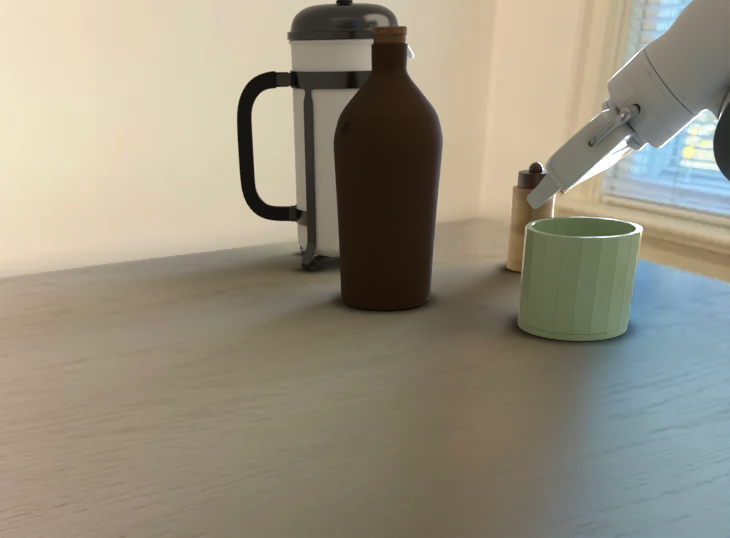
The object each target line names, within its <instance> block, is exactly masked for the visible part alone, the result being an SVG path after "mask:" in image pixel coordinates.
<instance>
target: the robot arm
mask: <svg viewBox="0 0 730 538" xmlns="http://www.w3.org/2000/svg"><path fill="white" fill-rule="evenodd" d="M606 88H607V92H608V94H609V97H607V99H605V100H604V101H603V102H602V103H601V112H600V113H598V114H597V115H595V116H594V117H593V118H592V119H590V120H589V121H588V122H587V123H586V124H585V125H584V126H583V127H581V128H580V129H579V130H578V131H577V132H576V133H575V134H574V135H572V136H571V137H570V138H569V139H568V140H567V141H566V142H564V144H562V146H560V147H559V148H558V149H557V150H556V151H555V152H554V153H553V154H552V155H550V157H549V158H548V159H547V161H546V162H545V164H544V168H545V170H547V171H548V172H549V173H548V174H547V175H546V176H545V177H544V178H543V179H542V181H541V182H540V183H539V184H538V186H537V187H536V188H535V189H534V190H533V191H532V192H531V193H530V194H528V195H527V198H526V199H527V202H528V203H529V204H530V206H531V207H532V208H533V209H538V208H539V207H541V206H542V205H543V204H544V203H545V202H547V201H548V200H549V199H550V198H551V197H552V196H553V195H554V194H555V197H561V196H563V195H565V194H566V193H567V192H568V191H569V190H571V189H572V188H573V187H575V186H576V185H579V184H581V183H582V182H584V181H585V180H588V179H590V178H591V177H593V176H595V175H597V174H599V173H601V172H602V171H605V170H607V169H608V168H610V167H612V166H613V165H615V164H616V163H618V162H620V161H621V160H622V159H623V158H625V157H627V156H628V155H630V154H631V153H632V152H633V151H635V152H640V151H641V150H642V149H643V148H645V146H647V145H649V146H650V147H652V148H654V149H661V148H663V147H664V146H665V145H666V144H667V143H668V142H669V141H670V140H672V139H673V138H674V137H675V136H677V135H678V134H679V133H680V132H681V131H682V130H684V129H685V127H686V128H687V126H688V125H689V124H691V123H692V122H693V121H694V120H695V119H696V118H698V117H699V116H700V115H701V114H702V113H703V112H706V111H709V112H711V113H712V115H713V116H714V117H715V118H716V119H717V124H716V126H715V130H714V134H713V140H712V153H713V157H714V161H715V163H716V166H717V168H718V169H719V171H720V173H721V174H722V176H723V177H724V178H725V179H727V181H728V182H730V0H691V1H690V2H689V3H688V4H687V5H685V7H684V8H683V9H682V10H681V11H680V13H679V14H678V16H677V17H676V19H675V20H674V22H673V23H672V24H671V26H670V27H668V28H667V30H665V32H663V33H661V35H660V36H659V35H658V37H656V38H654V39H653V40H650V41H649V42H647V43H646V44H645V45H644V46H643V47H642V48H641V49H640V50H639V51H638V52H637V53H636V54H635V55H634V56H633V57H632V58H631V59H630V60H628V62H626V63H625V64H624V65H623V67H621V68H620V69H619V70H618V71H617V72H616V73H615V74H614V75H612V77H611V78H610V79H609V80H608V81H607V82H606Z"/></svg>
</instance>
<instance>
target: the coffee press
mask: <svg viewBox="0 0 730 538" xmlns="http://www.w3.org/2000/svg"><path fill="white" fill-rule="evenodd" d="M384 26H399V22H398V18H397V16H396V15H395V13H394V12H393V11H392V10H391V9H389V8H388V7H386V6H384V5H381V4H377V3H376V4H375V3H367V2H366V3H365V2H354V1H353V0H335V3H323V4H314V5H310V6H307V7H305V8H303V9H301V10H300V11H299V12H297V13H296V14H295V15H294V17H293V19H292V22H291V26H290V31H287V32H286V40H287V41H288V44H289V45H290V52H291V53H290V54H291V70H289V72H288V71H276V70H271V71H266V72H263V73H259V74H257V75H255V76H253V78H251V79H250V80H249V81H248V82H247V83H246V85H244V88H243V90H242V91H241V93H240V96H239V100H238V102H237V108H236V109H237V110H236V133H237V151H238V152H237V153H238V168H239V178H240V188H241V192H242V196H243V198H244V201H245V203H246V205H247V206H248V208H249V209H250V210H251V211H252V212H253V214H255V215H256V216H258V217H260V218H261V219H265V220H267V221H268V220H269V221H274V222H292V223H293V222H294V223H296V225H297V227H296V228H297V240H298V241H297V242H298V244H299V249H300V252H301V254H303V255H302V258H301V261H300V266H301V269H303V270H306V271H312V272H315V271H316V270H317V269H318V267H319V266H320V263H321V262H322V260H324V259H327V258H330V257H331V258H332V257H333V258H340V252H339V232H338V214H337V196H336V179H335V164H334V144H333V143H334V134H335V130H336V126H337V122H338V119H339V116H340V114H341V112H342V111H343V109H344V108H345V106H346V105H347V104H348V103H349V101H350V100H351V99H352V98H353V96H354V95H355V94H356V93H357V91H358V90H359V89H360V88H361V86H362V85H363V84H364V82H365V81H366V80H367V78H368V77H369V75H370V73H371V70H372V63H371V44H373V27H384ZM414 58H415V53H414V52H413V50H412V49H411V46H410V45H409V44H408V52H407V60H409V59H411V60H413V59H414ZM288 87H290V88H291V89H292V110H293V115H292V116H293V140H294V141H293V142H294V143H293V144H294V169H295V170H294V171H295V195H296V196H295V197H296V199H295V200H296V201H295V202H296V204H295V205H272V204H268V203H266V202H265V201H264V200H263V199H262V198H261V196H260V194H259V193H258V189H257V185H256V173H255V158H254V157H255V156H254V138H253V119H252V118H253V107H254V105H255V102H256V100H257V98H258V97H259V95H260V94H261V93H263V92H265V91H267V90H272V89H276V88H288ZM314 255H315V256H314ZM313 256H314V257H313Z"/></svg>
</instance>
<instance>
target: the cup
mask: <svg viewBox="0 0 730 538" xmlns="http://www.w3.org/2000/svg"><path fill="white" fill-rule="evenodd" d="M643 230H644V229H643V227H642V226H641V225H639V224H637V223H634V222H631V221H627V220H622V219H616V218H608V217H599V216H598V217H597V216H596V217H595V216H557V217H553V218H546V219H539V220H535V221H532V222H529V223H528V224H527V225H526V226H525V237H524V248H523V260H522V271H521V272H520V282H519V283H520V284H519V294H518V307H517V326H518V328H519V329H521V331H524V332H525V333H528V334H530V335H533V336H536V337H541V338H545V339H550V340H557V341H570V342H594V341H603V340H604V341H605V340H609V339H614V338H618V337H620V336H622V335H623V334H625V333H626V332H627V330H628V324H629V322H630V316H631V308H632V307H631V306H632V304H633V303H632V302H633V295H634V290H635V289H634V288H635V282H636V275H637V269H638V263H639V257H640V249H641V243H642V237H643Z"/></svg>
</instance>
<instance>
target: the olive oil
mask: <svg viewBox="0 0 730 538" xmlns="http://www.w3.org/2000/svg"><path fill="white" fill-rule="evenodd" d="M407 35H408V27H407V26H405V25H398V26H384V27H373V44H371V63H372V70H371V73H370V75H369V77H368V78H367V80H366V81H365V82H364V84H363V85H362V86H361V88H360V89H359V90H358V91H357V93H356V94H355V95H354V96H353V98H352V99H351V100H350V101H349V103H348V104H347V105H346V106H345V108H344V109H343V111H342V112H341V114H340V116H339V119H338V122H337V126H336V130H335V134H334V143H333V144H334V164H335V179H336V196H337V214H338V232H339V252H340V257H339V275H340V276H339V277H340V298H341V300H342V302H343V303H344V304H346V305H347V306H350V307H353V308H357V309H363V310H369V311H370V310H372V311H400V310H408V309H412V308H418V307H421V306H423V305H426V304H427V303H428V302H429V301H430V298H431V289H432V275H433V274H432V273H433V260H434V247H435V246H434V245H435V236H436V235H435V234H436V223H437V211H438V199H439V190H440V189H439V188H440V179H441V169H442V157H443V144H444V138H443V137H444V136H443V130H442V126H441V121H440V117H439V115H438V113H437V111H436V109H435V108H434V106H433V105H432V103H431V102H430V100H429V99H428V98H427V97H426V96H425V94H424V93H423V92H422V90H420V88H419V87H418V86H417V84H416V83H415V82H414V81H413V80H414V79H412V78H411V76H410V74H409V72H408V59H407V52H408V45H409V44H408V42H407Z"/></svg>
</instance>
